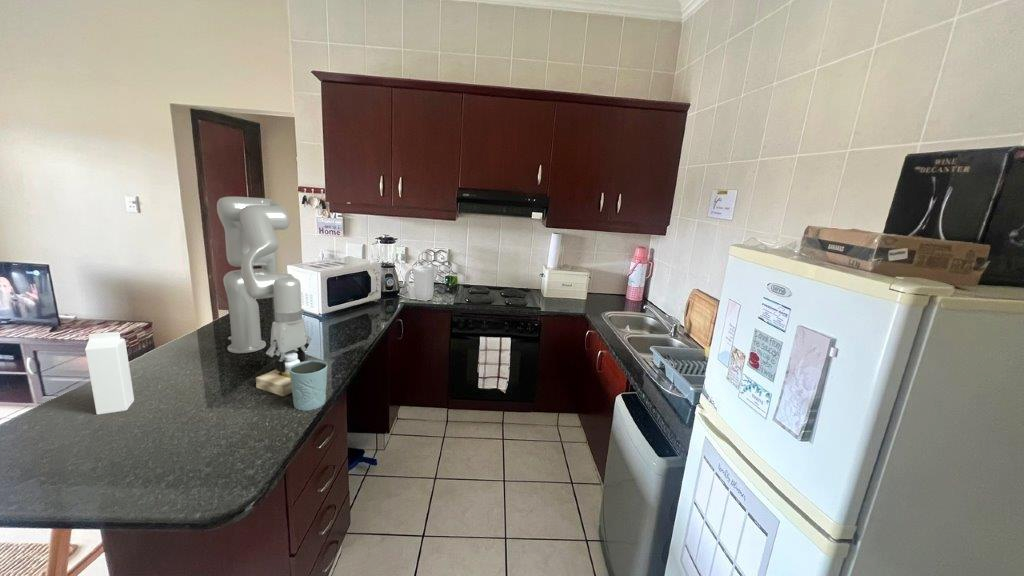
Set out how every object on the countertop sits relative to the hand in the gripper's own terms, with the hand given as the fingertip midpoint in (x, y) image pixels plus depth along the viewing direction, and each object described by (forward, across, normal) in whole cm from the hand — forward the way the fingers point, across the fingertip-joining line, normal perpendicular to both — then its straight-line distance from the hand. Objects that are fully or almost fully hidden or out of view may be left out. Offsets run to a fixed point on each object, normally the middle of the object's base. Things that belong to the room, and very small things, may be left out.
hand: (291, 366), depth 125 cm
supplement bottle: (+6, 0, 0) cm, 6 cm away
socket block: (+6, 0, 0) cm, 6 cm away
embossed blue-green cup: (+6, +7, +16) cm, 18 cm away
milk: (+6, +33, -27) cm, 43 cm away
